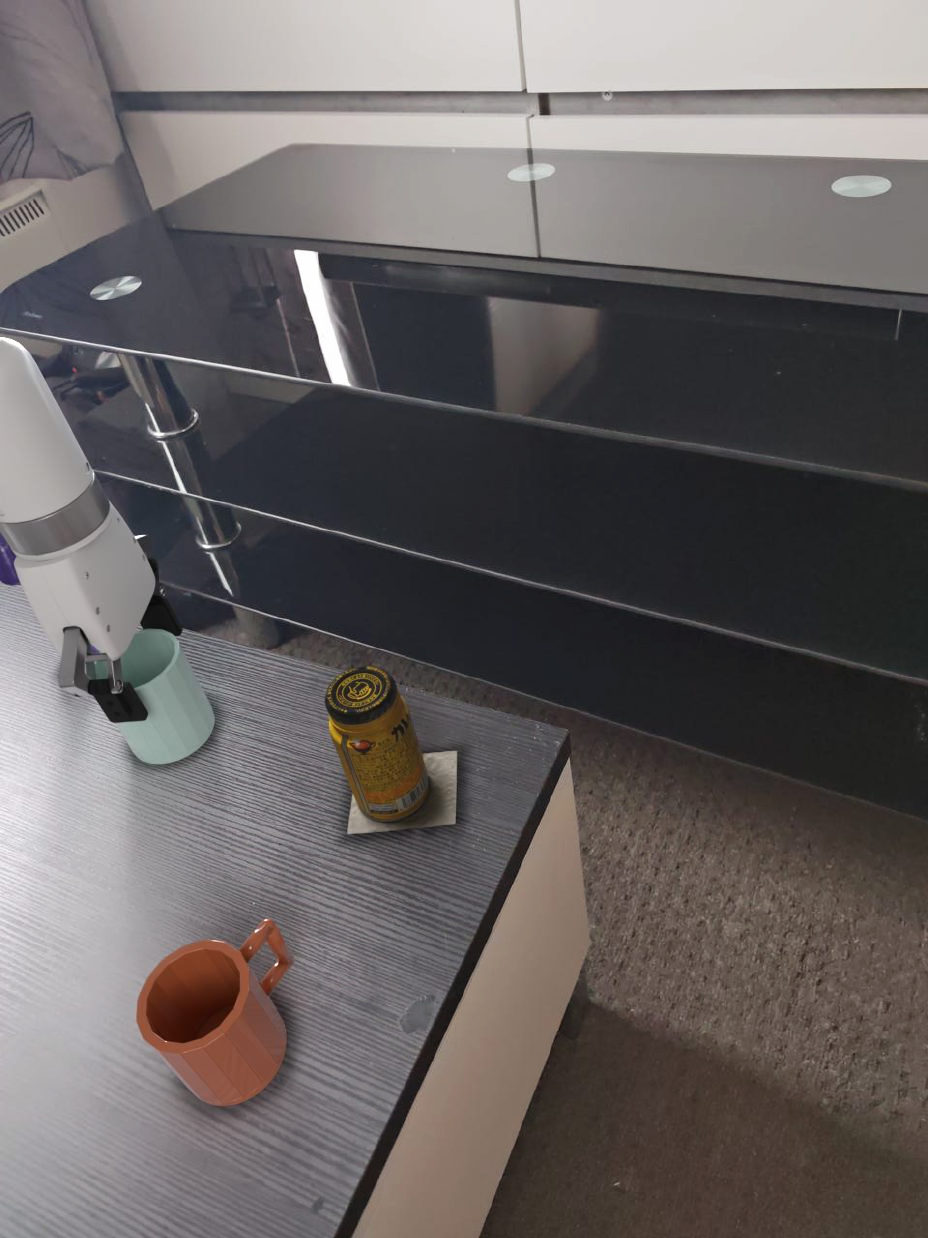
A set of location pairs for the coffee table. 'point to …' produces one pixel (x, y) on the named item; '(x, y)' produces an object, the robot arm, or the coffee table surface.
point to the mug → (217, 1016)
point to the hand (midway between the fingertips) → (149, 675)
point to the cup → (163, 699)
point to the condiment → (387, 757)
